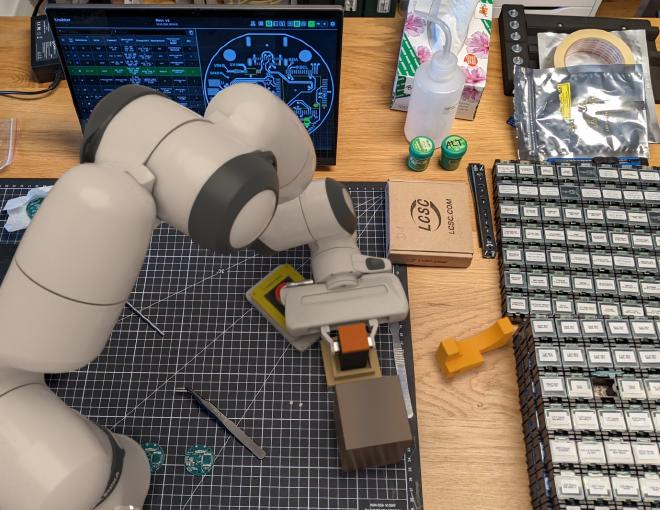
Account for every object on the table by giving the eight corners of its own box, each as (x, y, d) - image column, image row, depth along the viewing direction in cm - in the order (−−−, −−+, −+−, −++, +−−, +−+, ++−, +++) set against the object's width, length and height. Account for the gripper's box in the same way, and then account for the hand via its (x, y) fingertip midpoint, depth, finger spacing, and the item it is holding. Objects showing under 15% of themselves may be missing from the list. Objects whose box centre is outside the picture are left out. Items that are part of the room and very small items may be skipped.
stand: (342, 472, 95) (345, 450, 81) (332, 414, 99) (334, 384, 85) (399, 463, 96) (413, 439, 82) (387, 406, 100) (398, 374, 86)
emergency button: (281, 251, 109) (341, 308, 104) (282, 263, 113) (340, 318, 107) (240, 284, 106) (300, 344, 100) (243, 295, 109) (301, 354, 104)
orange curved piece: (446, 378, 102) (453, 365, 97) (434, 355, 104) (441, 341, 99) (509, 354, 105) (520, 340, 99) (497, 331, 107) (507, 316, 101)
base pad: (327, 387, 101) (327, 381, 99) (320, 342, 105) (320, 335, 103) (381, 379, 102) (383, 373, 100) (372, 334, 106) (373, 327, 103)
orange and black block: (341, 371, 102) (342, 352, 94) (336, 347, 104) (338, 326, 96) (366, 367, 102) (369, 348, 94) (361, 343, 104) (364, 322, 96)
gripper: (276, 275, 101) (287, 354, 95) (399, 258, 103) (418, 335, 96) (279, 292, 107) (289, 368, 100) (395, 275, 108) (413, 349, 102)
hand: (353, 351), depth 98 cm, fingers closed on orange and black block, 4 cm apart
